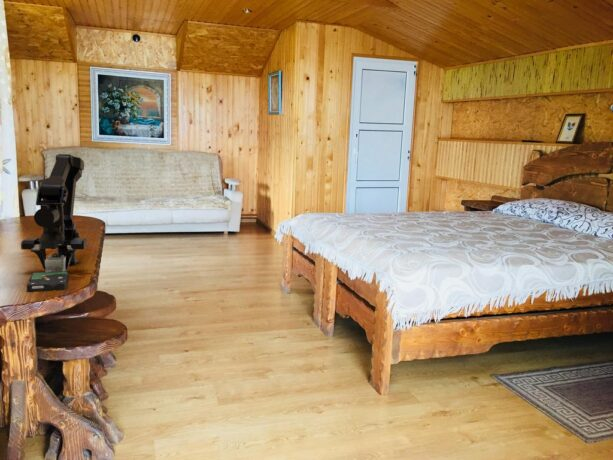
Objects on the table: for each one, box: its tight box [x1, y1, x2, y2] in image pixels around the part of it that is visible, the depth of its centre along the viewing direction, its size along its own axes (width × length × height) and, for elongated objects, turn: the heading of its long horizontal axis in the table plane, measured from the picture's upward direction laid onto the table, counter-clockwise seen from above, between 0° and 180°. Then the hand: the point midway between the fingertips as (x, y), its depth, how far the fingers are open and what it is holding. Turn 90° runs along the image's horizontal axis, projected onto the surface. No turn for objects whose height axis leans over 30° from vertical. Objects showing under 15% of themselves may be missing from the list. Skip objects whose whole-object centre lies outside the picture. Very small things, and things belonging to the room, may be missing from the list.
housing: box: [44, 252, 67, 272], centre depth 175 cm, size 5×5×6 cm
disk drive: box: [26, 270, 70, 293], centre depth 162 cm, size 10×3×15 cm
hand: (56, 269), depth 175 cm, fingers open, 6 cm apart
